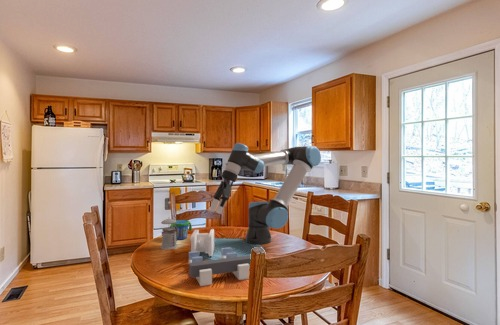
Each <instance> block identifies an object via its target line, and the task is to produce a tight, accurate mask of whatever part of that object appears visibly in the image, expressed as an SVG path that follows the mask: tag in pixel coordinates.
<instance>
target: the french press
mask: <svg viewBox="0 0 500 325" xmlns="http://www.w3.org/2000/svg"><path fill="white" fill-rule="evenodd" d="M166 204H168V205H170V204H172V203H171V201H167V202H166ZM176 221H177V220H175V219H173V218H166V219H163V220H162V221H161V224H162V225H171V224H174V223H176ZM176 228H177V227H176ZM161 230H162V231H161V245H160V246H159V249H161V250H166V251H167V250H174V249H177V248H178V247H179V245H178V244H177V239H176V238H177V237H176V231H174V230H176V229H175V225H174V227H172V228H170V227H164V228H162V229H161ZM173 233H174V234H173ZM177 236H178V229H177Z"/></svg>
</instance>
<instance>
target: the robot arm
mask: <svg viewBox="0 0 500 325" xmlns="http://www.w3.org/2000/svg"><path fill="white" fill-rule="evenodd" d="M321 155H322V154H321V151H320V150H319V148H318V147H316V146H314V145H306V146H305V145H304V146H303V145H302V146H293V147H290V148H285V149H280V150H279V151H274V152H272V151H271V152H266V153H265V152H264V153H258V154H257V153H256V154H251V153H250V152H249V147H248V146H247V145H245V144H244V143H240V142H236V143H235V144H234V145H233V147H232V149H231V152H230V154H229V157H228V160H227V162H225V167H224V170H223V171H222V173H221V178H222V179H223V180H221V181H220V184H219V186H218V187H217V189H216V192H215V193H214V195H213V199H212V202H211V205H210V207H209V210H208V212H209V211H210V212H212V213H217V214H219V215H222V212H223V210H224V207H225V205H226V203H227V201H228V200H229V199H230V195H231V191H232V188H233V184H234V183H235V182H236V181H237V179H238V175H239V174H240V171H251V172H252V173H255V174H260V173H261V172H262V171H263V170H264V167H269V166H274V165H282V166H288V165H290V166H292V168H291V169H290V171H289V172H288V174H287V176H286V178H285V179H284V181H283V183H282V184H281V186H280V188H279V190H278V192H277V193H276V195H275V197H274V198H270V199H269V201H266V200H265V201H263V200H262V201H251V202H248V228H247V232H246V234H245V241H247V243H248V242H249V244H254V245H256V244H257V245H264V244H269V243H271V242H272V235H271V232H270V229H269V228H271V229H276V230H277V229H281V228H283V227H284V226H285V225H286V224H287V222H288V220H289V205H290V203H291V201H292V199H293V198H294V195H295V194H296V192H297V191H298V189H299V187H300V185H301V183H302V181H303V180H304V177H306V174H307V173H309V172H311V171H312V169H313V167H316V166H318V165H320V163H321V160H322V156H321Z"/></svg>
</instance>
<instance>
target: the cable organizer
mask: <svg viewBox="0 0 500 325" xmlns="http://www.w3.org/2000/svg"><path fill="white" fill-rule="evenodd" d="M189 240H190V252H192V251H199V256H201V255H200V253H205V255H207V254H208V257H210V256H212V257H213V255H214V251H215V229H214V228H211V229H210V231H209V233H203V232H202V233H201V232H200V230H199V229H194V230H193V232H192V234H191V235H190V237H189Z"/></svg>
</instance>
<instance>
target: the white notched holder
mask: <svg viewBox="0 0 500 325" xmlns="http://www.w3.org/2000/svg"><path fill="white" fill-rule="evenodd" d="M220 249H221V250H220V252H221V253H220V254H221V255H220V256H221V257H220V259H224V258H232V257H238V256H237V255H238V252H236V251H233V252H232V247H231V246H229V247H227V246H226V247H222V248H221V247H220ZM200 261H204V257H203V255H199V251H192V252H191V251H188V264H189V263H193V262H200ZM249 269H250V265H249V264H248V263H247V264H239V265H237V271H235V272H231V273H232V274H233V275H234V276H235V278H236V279H237V280H239V281H243V280H247V279H248V280H249ZM250 270H251V269H250ZM195 279H196V280H197V283H198V284H199V286H200V287H205V286H211V285H213V275H212V269H211V268H210V269H203V270H199V277H195Z"/></svg>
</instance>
